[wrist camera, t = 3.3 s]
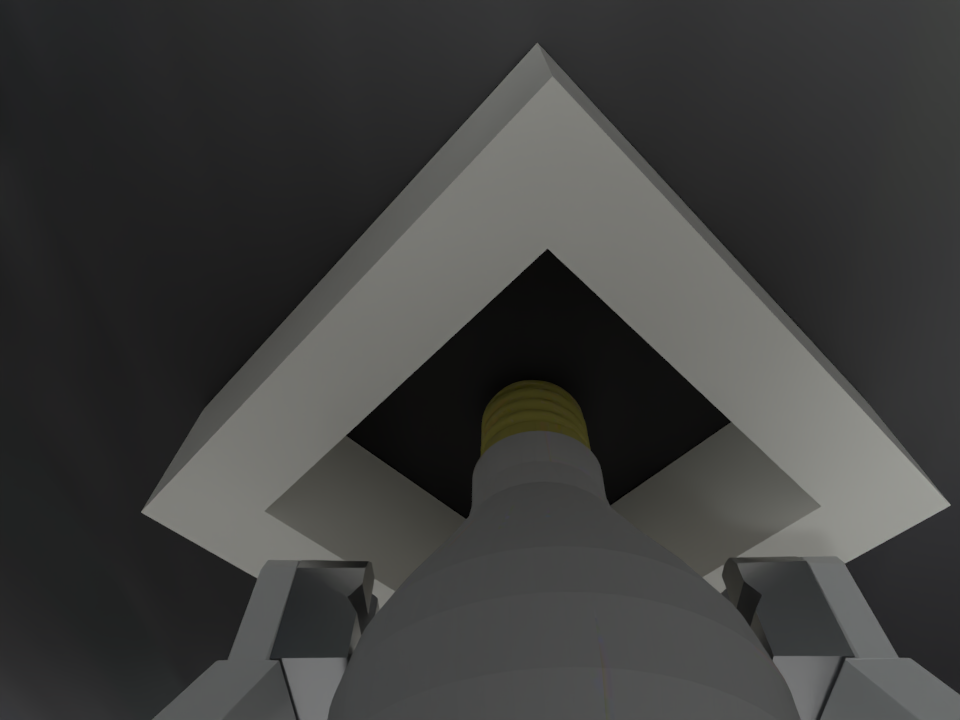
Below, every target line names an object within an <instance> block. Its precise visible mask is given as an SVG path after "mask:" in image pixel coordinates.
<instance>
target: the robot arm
mask: <svg viewBox="0 0 960 720" xmlns="http://www.w3.org/2000/svg"><path fill="white" fill-rule="evenodd" d="M722 578H723V581H724V584H725V586H726V589H725V590H724V591H723V592H721V594H722V595H723V596H724V597H725V598H726V599H728V600H729V601H730V602H731V603H732V604H733V605H734V606H735V607H736V609H737V610H738V611H739V612H740V613H741V614H742V616H743V617H744V619H745V620H746V622H747V623H748V625H749V626H750V628H751V629H752V631H753V632H754V634H755V635H756V637H757V638H758V640H759V641H760V643H761V644H762V646H763V647H764V649H765V650H766V652H767V653H768V655H769V656H770V658H771V659H772V661H773V662H774V664H775V665H776V667H777V668H778V670H779V671H780V673H781V674H782V676H783V677H784V679H785V681H786V683H787V685H788V687H789V689H790V691H791V694H792V696H793V699H794V702H795V705H796V708H797V710H798V713H799V716H800V719H801V720H960V694H958V693H957V692H956V691H954V690H953V689H951V688H950V687H949V686H947V685H946V684H945V683H943V682H942V681H941V680H939V679H938V678H937V677H935V676H934V675H933V674H931V673H930V672H929V671H927V670H926V669H925V668H923V667H922V666H920V665H919V664H918V663H916V662H915V661H914V660H912V659H911V658H899V657H898V655H897V653H896V652H895V650H894V648H893V646H892V645H891V643H890V641H889V640H888V638H887V636H886V634H885V633H884V631H883V629H882V627H881V626H880V624H879V622H878V621H877V619H876V617H875V615H874V614H873V612H872V610H871V608H870V607H869V605H868V603H867V602H866V600H865V598H864V596H863V595H862V593H861V591H860V589H859V588H858V586H857V584H856V583H855V581H854V579H853V577H852V576H851V574H850V572H849V570H848V569H847V567H846V565H845V564H844V562H843V561H842V560H840V559H839V558H838V557H837V556H817V557H796V556H784V557H733V558H729V559H728V560H727V561H726V562H725V564H724V568H723V572H722ZM374 579H375V577H374V572H373V567H372V562H369V561H330V560H268V561H267V562H266V563H265V565H264V566H263V567H262V569H261V570H260V573H259V576H258V578H257V581H256V584H255V586H254V589H253V592H252V595H251V597H250V600H249V603H248V605H247V608H246V611H245V614H244V616H243V619H242V622H241V624H240V627H239V630H238V633H237V635H236V638H235V641H234V643H233V646H232V649H231V652H230V654H229V657H228V660H217V661H216V662H215V663H213V664H212V665H211V666H210V667H209V668H208V669H207V670H206V671H205V672H204V673H202V674H201V675H200V676H199V677H198V678H197V679H196V680H195V681H194V682H193V683H191V684H190V685H189V686H188V687H187V688H186V689H185V690H184V691H183V692H182V693H180V694H179V695H178V696H177V697H176V698H175V699H174V700H173V701H172V702H171V703H169V704H168V705H167V706H166V707H165V708H164V709H163V710H162V711H161V712H160V713H158V714H157V715H156V716H155V717H154V718H153V719H152V720H327V719H328V714H329V708H330V705H331V702H332V699H333V696H334V694H335V692H336V689H337V687H338V685H339V683H340V681H341V678H342V676H343V674H344V672H345V670H346V667H347V665H348V663H349V661H350V659H351V656H352V654H353V652H354V650H355V648H356V645H357V643H358V641H359V639H360V637H361V635H362V634H363V632H364V630H365V628H366V627H367V625H368V624H369V623H370V621H371V620H372V618H373V617H374V616H375V615H376V614H377V612H378V611H379V603H378V598H377V597H376V596H375V595H373V594H372V590H373V584H374Z"/></svg>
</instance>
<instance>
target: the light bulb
mask: <svg viewBox="0 0 960 720" xmlns="http://www.w3.org/2000/svg"><path fill="white" fill-rule="evenodd" d="M481 430H482V435H481V456H480V459H479V460H478V462H477V464H476V466H475V468H474V472H473V477H472V508H471V511H470V514H469V517H468V518H467V519H466V520H465V521H464V522H463V523H462V524H461V525H460V526H459V528H458V529H457V530H456V531H455V532H454V533H453V534H452V535H451V536H450V537H449V538H448V539H447V540H446V541H445V542H444V543H443V544H442V545H441V546H440V547H439V548H438V549H437V550H436V551H434V552H433V553H432V554H431V555H430V556H429V557H428V558H427V559H426V560H425V561H424V562H423V563H422V564H421V565H420V566H419V567H418V568H417V569H415V570H414V571H413V572H412V573H411V574H410V576H409V577H408V578H407V579H406V580H405V581H404V582H403V583H402V584H401V586H400V587H399V588H398V589H397V590H396V591H395V593H394V594H393V595H392V596H391V597H390V598H389V600H388V601H387V602H386V603H385V604H384V605H383V607H382V608H381V609H380V610H379V611H378V612H377V614H376V615H375V616H374V617H373V618H372V620H371V621H370V623H369V624H368V625H367V627H366V628H365V630H364V632H363V634H362V635H361V637H360V639H359V641H358V643H357V645H356V648H355V650H354V652H353V654H352V656H351V659H350V661H349V663H348V665H347V667H346V670H345V672H344V674H343V676H342V678H341V681H340V683H339V685H338V687H337V689H336V692H335V694H334V696H333V699H332V702H331V705H330V708H329V714H328V719H327V720H801V719H800V716H799V713H798V710H797V708H796V705H795V702H794V699H793V696H792V694H791V691H790V689H789V687H788V685H787V683H786V681H785V679H784V677H783V676H782V674H781V673H780V671H779V670H778V668H777V667H776V665H775V664H774V662H773V661H772V659H771V658H770V656H769V655H768V653H767V652H766V650H765V649H764V647H763V646H762V644H761V643H760V641H759V640H758V638H757V637H756V635H755V634H754V632H753V631H752V629H751V628H750V626H749V625H748V623H747V622H746V620H745V619H744V617H743V616H742V614H741V613H740V612H739V611H738V610H737V609H736V607H735V606H734V605H733V604H732V603H731V602H730V601H729V600H728V599H726V598H725V597H724V596H723V595H722V594H721V593H720V592H718V591H717V590H716V589H715V588H714V587H713V586H711V585H710V584H709V583H708V582H707V581H706V580H705V579H703V578H702V577H701V576H700V575H699V574H698V573H696V572H695V571H694V570H693V569H692V568H691V567H690V566H688V565H687V564H686V563H685V562H684V561H683V560H681V559H680V558H679V557H677V556H676V555H674V554H673V553H671V552H670V551H669V550H667V549H666V548H664V547H663V546H661V545H660V544H659V543H657V542H656V541H654V540H653V539H652V538H650V537H649V536H647V535H646V534H644V533H643V532H642V531H640V530H639V529H637V528H636V527H635V526H633V525H632V524H631V523H630V522H628V521H627V520H626V519H625V518H623V517H622V516H621V515H620V514H618V513H617V512H616V511H615V510H613V509H612V508H611V506H610V504H609V502H608V500H607V498H606V494H605V488H604V482H603V476H602V471H601V467H600V464H599V462H598V460H597V458H596V457H595V455H594V454H593V453H592V452H591V449H590V443H589V438H588V434H587V428H586V423H585V420H584V418H583V414H582V411H581V408H580V406H579V405H578V403H577V402H576V400H575V399H574V398H573V397H572V396H571V395H570V394H569V393H568V392H566V391H565V390H564V389H562V388H561V387H559V386H557V385H555V384H553V383H550V382H546V381H542V380H523V381H519V382H515V383H513V384H510V385H508V386H506V387H505V388H503V389H502V390H501V391H499V392H498V393H497V394H496V395H495V396H494V397H493V398H492V399H491V400H490V402H489V403H488V405H487V407H486V408H485V411H484V414H483V418H482V425H481Z"/></svg>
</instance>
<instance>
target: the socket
mask: <svg viewBox="0 0 960 720" xmlns="http://www.w3.org/2000/svg"><path fill="white" fill-rule="evenodd" d="M546 249H549V250H550V251H551V252H552V253H553V254H554V255H555V256H556V257H557V258H558V259H559V260H560V261H561V262H562V263H563V264H565V265H566V266H567V267H568V268H569V269H570V270H571V271H572V272H573V273H574V274H575V275H576V276H577V277H578V278H579V279H580V280H582V281H583V282H584V283H585V284H586V285H587V286H588V287H589V288H590V289H591V290H592V291H593V292H594V293H595V294H596V295H597V296H599V297H600V298H601V299H602V300H603V301H604V302H605V303H606V304H607V305H608V306H609V307H610V308H611V309H612V310H613V311H614V312H615V313H617V314H618V315H619V316H620V317H621V318H622V319H623V320H624V321H625V322H626V323H627V324H628V325H629V326H630V327H631V328H632V329H634V330H635V331H636V332H637V333H638V334H639V335H640V336H641V337H642V338H643V339H644V340H645V341H646V342H647V343H648V344H649V345H651V346H652V347H653V348H654V349H655V350H656V351H657V352H658V353H659V354H660V355H661V356H662V357H663V358H664V359H665V360H666V361H667V362H669V363H670V364H671V365H672V366H673V367H674V368H675V369H676V370H677V371H678V372H679V373H680V374H681V375H682V376H683V377H684V378H686V379H687V380H688V381H689V382H690V383H691V384H692V385H693V386H694V387H695V388H696V389H697V390H698V391H699V392H700V393H701V394H703V395H704V396H705V397H706V398H707V399H708V400H709V401H710V402H711V403H712V404H713V405H714V406H715V407H716V408H717V409H718V410H719V411H721V412H722V413H723V414H724V415H725V416H726V417H727V418H728V419H729V420H730V421H731V423H729V424H728V425H726V426H725V427H723V428H722V429H720V430H719V431H718V432H716V433H715V434H713V435H712V436H710V437H709V438H707V439H706V440H704V441H703V442H702V443H700V444H699V445H697V446H696V447H694V448H693V449H691V450H690V451H689V452H687V453H686V454H684V455H683V456H681V457H680V458H678V459H677V460H676V461H674V462H673V463H671V464H670V465H668V466H667V467H665V468H664V469H662V470H661V471H660V472H658V473H657V474H655V475H654V476H652V477H651V478H649V479H648V480H647V481H645V482H644V483H642V484H641V485H639V486H638V487H636V488H635V489H634V490H632V491H631V492H629V493H628V494H626V495H625V496H623V497H622V498H620V499H619V500H618V501H616V502H615V503H613V504H612V505H610V506H611V508H612V509H613V510H615V511H616V512H617V513H618V514H620V515H621V516H622V517H623V518H625V519H626V520H627V521H628V522H630V523H631V524H632V525H633V526H635V527H636V528H637V529H639V530H640V531H642V532H643V533H644V534H646V535H647V536H649V537H650V538H652V539H653V540H654V541H656V542H657V543H659V544H660V545H661V546H663V547H664V548H666V549H667V550H669V551H670V552H671V553H673V554H674V555H676V556H677V557H679V558H680V559H681V560H683V561H684V562H685V563H686V564H687V565H688V566H690V567H691V568H692V569H693V570H694V571H695V572H696V573H698V574H699V575H700V576H701V577H702V578H703V579H705V580H706V581H707V582H708V583H709V584H710V585H711V586H713V587H714V588H715V589H716V590H717V591H718V592H720V593H721V592H723V591H724V590H725V589H726V586H725V584H724V581H723V578H722V572H723V568H724V564H725V562H726V561H727V560H728V559H729V558H733V557H784V556H796V557H817V556H837V557H838V558H839V559H840V560H842V561H843V562H844V564H845V563H847V562H849V561H851V560H853V559H854V558H856V557H858V556H860V555H862V554H864V553H865V552H867V551H869V550H871V549H873V548H874V547H876V546H878V545H880V544H882V543H884V542H885V541H887V540H889V539H891V538H893V537H894V536H896V535H898V534H900V533H902V532H904V531H905V530H907V529H909V528H911V527H913V526H914V525H916V524H918V523H920V522H922V521H924V520H925V519H927V518H929V517H931V516H933V515H934V514H936V513H938V512H940V511H942V510H944V509H945V508H947V507H949V506H951V505H950V503H949V502H948V501H947V500H946V498H945V497H944V496H943V495H942V494H941V492H940V491H939V490H938V489H937V487H936V486H935V485H934V484H933V482H932V481H931V480H930V479H929V478H928V476H927V475H926V474H925V473H924V471H923V470H922V469H921V468H920V466H919V465H918V464H917V463H916V462H915V460H914V459H913V458H912V457H911V455H910V454H909V453H908V452H907V451H906V449H905V448H904V447H903V446H902V444H901V443H900V442H899V441H898V439H897V438H896V437H895V436H894V435H893V433H892V432H891V431H890V430H889V428H888V427H887V426H886V425H885V423H884V422H883V421H882V420H881V419H880V417H879V416H878V415H877V414H876V412H875V411H874V410H873V409H872V407H871V406H870V405H869V404H868V403H867V401H866V400H865V399H864V398H863V397H862V396H861V395H860V394H859V393H858V391H857V390H856V389H855V388H854V387H853V386H852V385H851V384H850V383H849V382H848V381H847V379H846V378H845V377H844V376H843V375H842V374H841V373H840V372H839V371H838V370H837V369H836V367H835V366H834V365H833V364H832V363H831V362H830V361H829V360H828V359H827V358H826V357H825V355H824V354H823V353H822V352H821V351H820V350H819V349H818V348H817V347H816V346H815V345H814V343H813V342H812V341H811V340H810V339H809V338H808V337H807V336H806V335H805V334H804V333H803V331H802V330H801V329H800V328H799V327H798V326H797V325H796V324H795V323H794V322H793V321H792V320H791V318H790V317H789V316H788V315H787V314H786V313H785V312H784V311H783V310H782V309H781V308H780V306H779V305H778V304H777V303H776V302H775V301H774V300H773V299H772V298H771V297H770V296H769V294H768V293H767V292H766V291H765V290H764V289H763V288H762V287H761V286H760V285H759V284H758V282H757V281H756V280H755V279H754V278H753V277H752V276H751V275H750V274H749V273H748V272H747V270H746V269H745V268H744V267H743V266H742V265H741V264H740V263H739V262H738V261H737V260H736V258H735V257H734V256H733V255H732V254H731V253H730V252H729V251H728V250H727V249H726V248H725V246H724V245H723V244H722V243H721V242H720V241H719V240H718V239H717V238H716V237H715V236H714V234H713V233H712V232H711V231H710V230H709V229H708V228H707V227H706V226H705V225H704V224H703V222H702V221H701V220H700V219H699V218H698V217H697V216H696V215H695V214H694V213H693V212H692V210H691V209H690V208H689V207H688V206H687V205H686V204H685V203H684V202H683V201H682V200H681V199H680V197H679V196H678V195H677V194H676V193H675V192H674V191H673V190H672V189H671V188H670V187H669V185H668V184H667V183H666V182H665V181H664V180H663V179H662V178H661V177H660V176H659V175H658V173H657V172H656V171H655V170H654V169H653V168H652V167H651V166H650V165H649V164H648V163H647V161H646V160H645V159H644V158H643V157H642V156H641V155H640V154H639V153H638V152H637V151H636V149H635V148H634V147H633V146H632V145H631V144H630V143H629V142H628V141H627V140H626V139H625V137H624V136H623V135H622V134H621V133H620V132H619V131H618V130H617V129H616V128H615V127H614V125H613V124H612V123H611V122H610V121H609V120H608V119H607V118H606V117H605V116H604V115H603V113H602V112H601V111H600V110H599V109H598V108H597V107H596V106H595V105H594V104H593V103H592V101H591V100H590V99H589V98H588V97H587V96H586V95H585V94H584V93H583V92H582V91H581V89H580V88H579V87H578V86H577V85H576V84H575V83H574V82H573V81H572V80H571V79H570V78H569V76H568V75H567V74H566V73H565V72H564V71H563V70H562V69H561V68H560V67H559V66H558V64H557V63H556V62H555V61H554V60H553V59H552V58H551V57H550V56H549V55H548V54H547V52H546V51H545V50H544V49H543V48H542V47H541V46H540V45H539V44H538V43H537V44H536V45H535V46H534V47H533V48H532V49H531V50H530V51H529V52H528V53H527V55H526V56H525V57H524V58H523V59H522V60H521V61H520V62H519V63H518V64H517V66H516V67H515V68H514V69H513V70H512V71H511V72H510V73H509V74H508V75H507V77H506V78H505V79H504V80H503V81H502V82H501V83H500V84H499V85H498V86H497V88H496V89H495V90H494V91H493V92H492V93H491V94H490V95H489V96H488V97H487V98H486V100H485V101H484V102H483V103H482V104H481V105H480V106H479V107H478V108H477V109H476V111H475V112H474V113H473V114H472V115H471V116H470V117H469V118H468V119H467V120H466V122H465V123H464V124H463V125H462V126H461V127H460V128H459V129H458V130H457V131H456V133H455V134H454V135H453V136H452V137H451V138H450V139H449V140H448V141H447V142H446V144H445V145H444V146H443V147H442V148H441V149H440V150H439V151H438V152H437V153H436V155H435V156H434V157H433V158H432V159H431V160H430V161H429V162H428V163H427V164H426V165H425V167H424V168H423V169H422V170H421V171H420V172H419V173H418V174H417V175H416V176H415V178H414V179H413V180H412V181H411V182H410V183H409V184H408V185H407V186H406V187H405V189H404V190H403V191H402V192H401V193H400V194H399V195H398V196H397V197H396V198H395V200H394V201H393V202H392V203H391V204H390V205H389V206H388V207H387V208H386V209H385V211H384V212H383V213H382V214H381V215H380V216H379V217H378V218H377V219H376V220H375V221H374V223H373V224H372V225H371V226H370V227H369V228H368V229H367V230H366V231H365V232H364V234H363V235H362V236H361V237H360V238H359V239H358V240H357V241H356V242H355V243H354V245H353V246H352V247H351V248H350V249H349V250H348V251H347V252H346V253H345V254H344V256H343V257H342V258H341V259H340V260H339V261H338V262H337V263H336V264H335V265H334V267H333V268H332V269H331V270H330V271H329V272H328V273H327V274H326V275H325V276H324V278H323V279H322V280H321V281H320V282H319V283H318V284H317V285H316V286H315V287H314V288H313V290H312V291H311V292H310V293H309V294H308V295H307V296H306V297H305V298H304V299H303V301H302V302H301V303H300V304H299V305H298V306H297V307H296V308H295V309H294V310H293V312H292V313H291V314H290V315H289V316H288V317H287V318H286V319H285V320H284V321H283V323H282V324H281V325H280V326H279V327H278V328H277V329H276V330H275V331H274V332H273V334H272V335H271V336H270V337H269V338H268V339H267V340H266V341H265V342H264V343H263V345H262V346H261V347H260V348H259V349H258V350H257V351H256V352H255V353H254V354H253V355H252V357H251V358H250V359H249V360H248V361H247V362H246V363H245V364H244V365H243V366H242V368H241V369H240V370H239V371H238V372H237V373H236V374H235V375H234V376H233V377H232V379H231V380H230V381H229V382H228V383H227V384H226V385H225V386H224V387H223V388H222V390H221V391H220V392H219V393H218V394H217V395H216V396H215V397H214V398H213V399H212V401H211V402H210V403H209V404H208V405H207V406H206V407H205V408H204V410H203V411H202V413H201V414H200V416H199V418H198V419H197V421H196V423H195V424H194V426H193V428H192V429H191V431H190V432H189V434H188V436H187V437H186V439H185V441H184V442H183V444H182V446H181V447H180V449H179V450H178V452H177V454H176V455H175V457H174V459H173V460H172V462H171V464H170V465H169V467H168V468H167V470H166V472H165V473H164V475H163V477H162V478H161V480H160V482H159V483H158V485H157V486H156V488H155V490H154V491H153V493H152V495H151V496H150V498H149V499H148V501H147V503H146V504H145V506H144V508H143V509H142V511H141V513H143V514H145V515H146V516H148V517H150V518H152V519H153V520H155V521H157V522H159V523H160V524H162V525H164V526H166V527H167V528H169V529H171V530H173V531H175V532H176V533H178V534H180V535H182V536H183V537H185V538H187V539H189V540H190V541H192V542H194V543H196V544H197V545H199V546H201V547H203V548H204V549H206V550H208V551H210V552H212V553H213V554H215V555H217V556H219V557H220V558H222V559H224V560H226V561H227V562H229V563H231V564H233V565H234V566H236V567H238V568H240V569H241V570H243V571H245V572H247V573H249V574H250V575H252V576H254V577H256V578H258V576H259V573H260V570H261V569H262V567H263V566H264V565H265V563H266V562H267V561H268V560H330V561H369V562H372V567H373V572H374V577H375V579H374V584H373V590H372V594H373V595H375V596H376V597H377V598H378V603H379V610H380V609H381V608H382V607H383V605H384V604H385V603H386V602H387V601H388V600H389V598H390V597H391V596H392V595H393V594H394V593H395V591H396V590H397V589H398V588H399V587H400V586H401V584H402V583H403V582H404V581H405V580H406V579H407V578H408V577H409V576H410V574H411V573H412V572H413V571H414V570H415V569H417V568H418V567H419V566H420V565H421V564H422V563H423V562H424V561H425V560H426V559H427V558H428V557H429V556H430V555H431V554H432V553H433V552H434V551H436V550H437V549H438V548H439V547H440V546H441V545H442V544H443V543H444V542H445V541H446V540H447V539H448V538H449V537H450V536H451V535H452V534H453V533H454V532H455V531H456V530H457V529H458V528H459V526H460V525H461V524H462V523H463V522H464V521H465V520H466V519H465V518H464V517H462V516H461V515H459V514H458V513H456V512H455V511H454V510H452V509H451V508H449V507H448V506H446V505H445V504H444V503H442V502H441V501H439V500H438V499H436V498H435V497H433V496H432V495H431V494H429V493H428V492H426V491H425V490H423V489H422V488H420V487H419V486H418V485H416V484H415V483H413V482H412V481H410V480H409V479H407V478H406V477H405V476H403V475H402V474H400V473H399V472H397V471H396V470H395V469H393V468H392V467H390V466H389V465H387V464H386V463H384V462H383V461H382V460H380V459H379V458H377V457H376V456H374V455H373V454H371V453H370V452H369V451H367V450H366V449H364V448H363V447H361V446H360V445H359V444H357V443H356V442H354V441H353V440H351V439H350V438H348V437H347V436H346V435H347V434H348V433H349V432H350V431H351V430H352V429H353V428H355V427H356V426H357V425H358V424H359V423H360V422H361V421H362V420H363V419H364V418H365V417H366V416H367V415H369V414H370V413H371V412H372V411H373V410H374V409H375V408H376V407H377V406H378V405H379V404H380V403H381V402H383V401H384V400H385V399H386V398H387V397H388V396H389V395H390V394H391V393H392V392H393V391H394V390H395V389H397V388H398V387H399V386H400V385H401V384H402V383H403V382H404V381H405V380H406V379H407V378H408V377H410V376H411V375H412V374H413V373H414V372H415V371H416V370H417V369H418V368H419V367H420V366H421V365H422V364H424V363H425V362H426V361H427V360H428V359H429V358H430V357H431V356H432V355H433V354H434V353H435V352H436V351H438V350H439V349H440V348H441V347H442V346H443V345H444V344H445V343H446V342H447V341H448V340H449V339H450V338H452V337H453V336H454V335H455V334H456V333H457V332H458V331H459V330H460V329H461V328H462V327H463V326H465V325H466V324H467V323H468V322H469V321H470V320H471V319H472V318H473V317H474V316H475V315H476V314H477V313H479V312H480V311H481V310H482V309H483V308H484V307H485V306H486V305H487V304H488V303H489V302H490V301H491V300H493V299H494V298H495V297H496V296H497V295H498V294H499V293H500V292H501V291H502V290H503V289H504V288H505V287H507V286H508V285H509V284H510V283H511V282H512V281H513V280H514V279H515V278H516V277H517V276H518V275H520V274H521V273H522V272H523V271H524V270H525V269H526V268H527V267H528V266H529V265H530V264H531V263H532V262H534V261H535V260H536V259H537V258H538V257H539V256H540V255H541V254H542V253H543V252H544V251H545V250H546Z"/></svg>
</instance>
